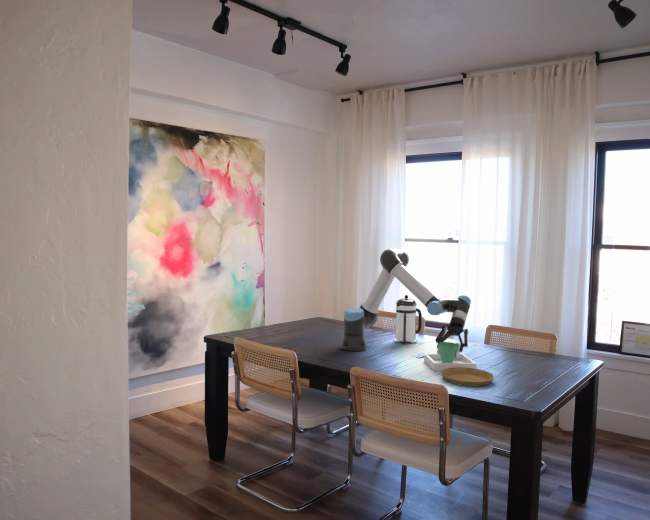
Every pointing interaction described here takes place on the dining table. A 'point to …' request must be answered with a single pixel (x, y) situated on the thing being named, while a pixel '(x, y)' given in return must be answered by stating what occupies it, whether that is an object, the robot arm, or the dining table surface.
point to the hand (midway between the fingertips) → (447, 355)
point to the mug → (448, 351)
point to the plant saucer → (467, 376)
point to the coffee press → (407, 320)
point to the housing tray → (437, 365)
